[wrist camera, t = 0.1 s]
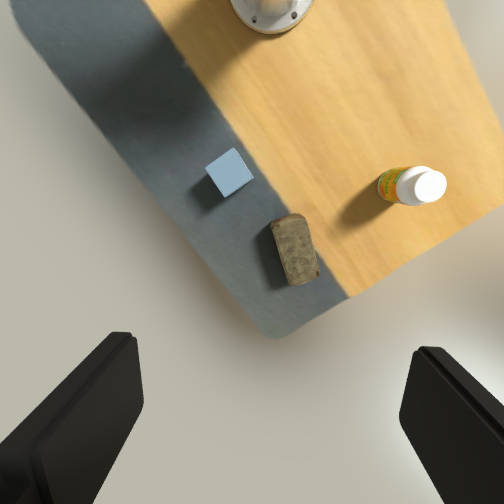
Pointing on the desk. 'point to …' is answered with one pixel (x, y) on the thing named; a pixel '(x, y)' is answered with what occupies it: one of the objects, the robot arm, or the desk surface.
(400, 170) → the supplement bottle
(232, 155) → the slate cube
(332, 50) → the desk surface
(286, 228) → the stone block
